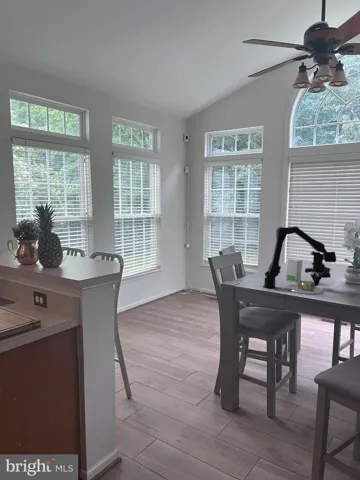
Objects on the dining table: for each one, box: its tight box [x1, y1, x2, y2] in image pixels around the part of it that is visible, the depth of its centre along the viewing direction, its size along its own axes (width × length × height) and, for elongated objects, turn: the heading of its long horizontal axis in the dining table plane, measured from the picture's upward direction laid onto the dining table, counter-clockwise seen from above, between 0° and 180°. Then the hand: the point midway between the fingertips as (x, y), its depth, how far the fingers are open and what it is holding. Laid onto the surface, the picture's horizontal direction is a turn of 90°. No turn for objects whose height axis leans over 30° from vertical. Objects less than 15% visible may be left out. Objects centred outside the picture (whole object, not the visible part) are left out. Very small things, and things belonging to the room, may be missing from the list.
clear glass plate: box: [285, 280, 323, 295], centre depth 224 cm, size 22×22×4 cm
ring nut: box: [296, 280, 316, 290], centre depth 226 cm, size 15×8×4 cm, turn 123°
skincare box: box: [285, 258, 303, 283], centre depth 250 cm, size 8×7×16 cm
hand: (316, 285), depth 227 cm, fingers closed
